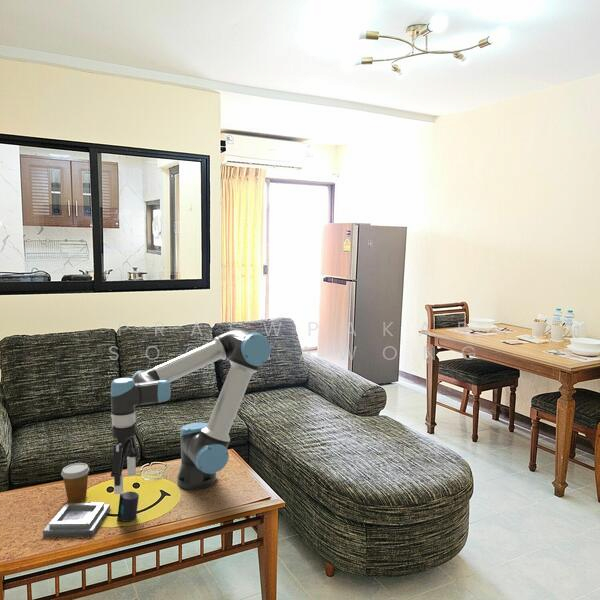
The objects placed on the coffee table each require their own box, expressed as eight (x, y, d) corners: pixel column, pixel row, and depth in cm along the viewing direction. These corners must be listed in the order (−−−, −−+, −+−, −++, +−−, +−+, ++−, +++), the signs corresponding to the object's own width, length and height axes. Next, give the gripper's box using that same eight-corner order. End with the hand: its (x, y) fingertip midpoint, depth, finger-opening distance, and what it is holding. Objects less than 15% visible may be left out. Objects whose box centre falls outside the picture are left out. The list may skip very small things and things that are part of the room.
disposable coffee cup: (87, 489, 196) (85, 460, 195) (93, 500, 189) (92, 469, 187) (60, 497, 191) (58, 466, 189) (66, 508, 183) (64, 476, 182)
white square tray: (110, 509, 182) (109, 500, 182) (92, 535, 166) (92, 525, 166) (64, 510, 182) (64, 500, 181) (43, 536, 166) (42, 526, 165)
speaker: (110, 521, 174) (113, 492, 173) (118, 513, 180) (121, 484, 179) (132, 525, 173) (134, 495, 172) (139, 516, 179) (141, 488, 178)
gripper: (124, 411, 185) (126, 467, 188) (98, 438, 160) (101, 502, 163) (145, 411, 185) (146, 467, 188) (122, 438, 161) (124, 502, 163)
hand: (125, 483), depth 175 cm, fingers open, 13 cm apart
